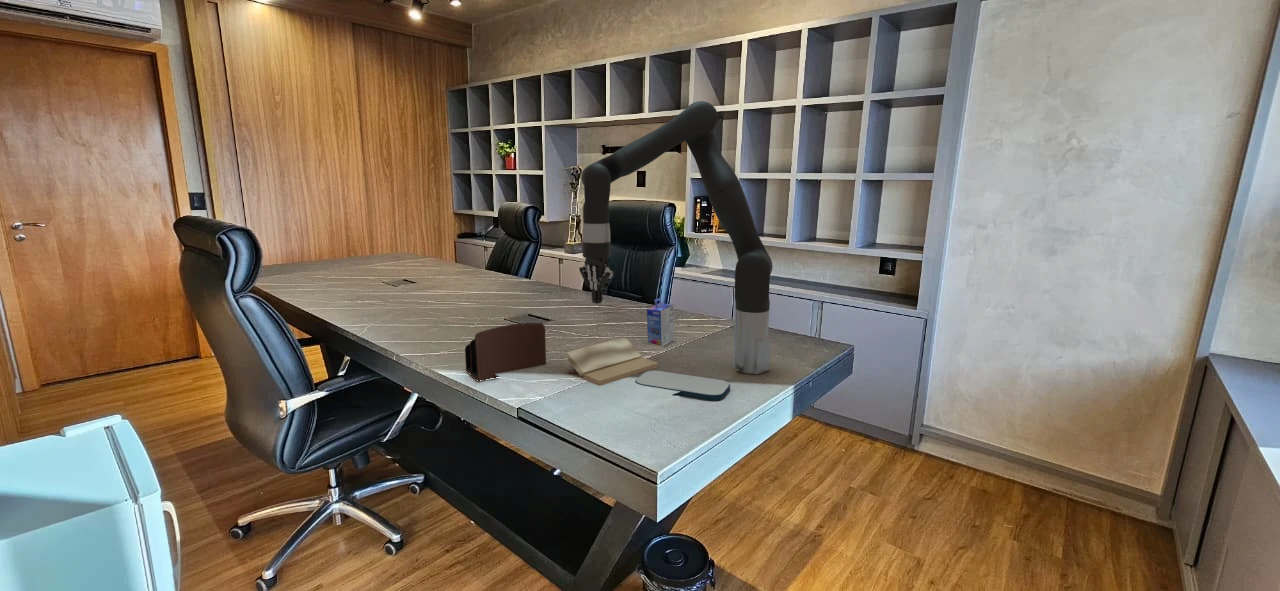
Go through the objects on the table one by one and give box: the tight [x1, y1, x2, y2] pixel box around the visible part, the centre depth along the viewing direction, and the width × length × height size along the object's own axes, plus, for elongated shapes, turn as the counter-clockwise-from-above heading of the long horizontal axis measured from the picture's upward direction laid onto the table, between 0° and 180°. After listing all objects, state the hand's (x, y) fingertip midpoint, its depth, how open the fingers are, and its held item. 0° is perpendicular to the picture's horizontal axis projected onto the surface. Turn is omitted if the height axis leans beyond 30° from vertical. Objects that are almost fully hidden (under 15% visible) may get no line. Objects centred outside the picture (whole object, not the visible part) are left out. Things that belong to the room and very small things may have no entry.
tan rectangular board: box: [582, 356, 659, 386], centre depth 158 cm, size 16×23×2 cm
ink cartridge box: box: [646, 297, 675, 347], centre depth 186 cm, size 10×6×14 cm, turn 152°
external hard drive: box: [634, 370, 731, 402], centre depth 147 cm, size 24×12×2 cm, turn 67°
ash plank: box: [565, 337, 642, 378], centre depth 159 cm, size 8×21×2 cm, turn 135°
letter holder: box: [464, 322, 547, 382], centre depth 159 cm, size 10×20×14 cm, turn 125°
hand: (597, 302), depth 158 cm, fingers closed
